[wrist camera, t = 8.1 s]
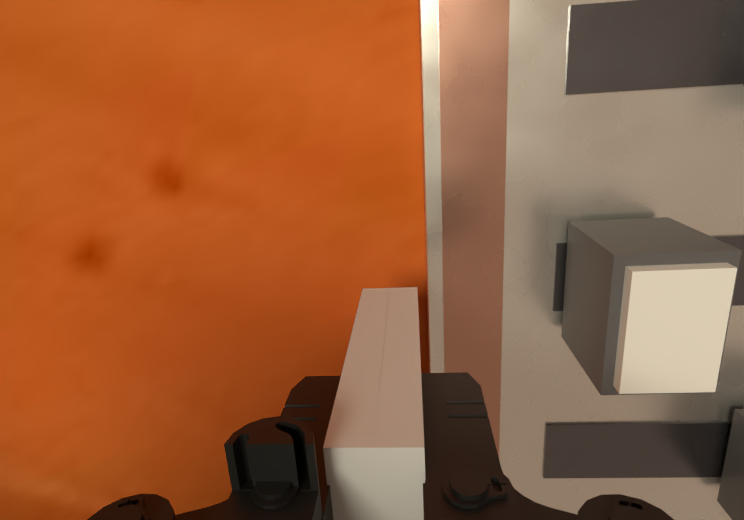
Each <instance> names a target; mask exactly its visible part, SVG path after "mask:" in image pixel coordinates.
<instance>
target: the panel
mask: <svg viewBox="0 0 744 520" xmlns="http://www.w3.org/2000/svg"><path fill="white" fill-rule="evenodd" d="M419 33H420V68H421V104H422V139H423V175H424V210H425V246H426V281H427V317H428V352H429V373H459V372H468V373H469V374H470V375H471V376H472V377H473V378H474V379H475V380H476V381H477V382H478V383H479V384H480V385H481V389H482V393H483V397H484V403H485V405H486V409H487V413H488V418H489V421H490V425H491V429H492V433H493V437H494V441H495V445H496V449H497V453H498V457H499V461H500V465H501V469H502V471H503V473H504V475H505V476H506V477H508V478H509V480H510V482H511V484H512V486H513V487H514V489H516V490H517V491H518V492H519V493H521V494H522V495H523V496H525V497H527V498H529V499H530V500H532V501H534V502H536V503H539V504H542V505H544V506H547V507H550V508H554V509H558V510H562V511H565V512H569V513H573V514H577V515H578V510H579V509H580V508H581V507H582V505H583V504H584V503H585V502H586V500H589V499H591V498H594V497H596V496H599V495H606V494H621V495H626V496H630V497H634V498H638V499H642V500H644V501H646V502H648V503H650V504H652V505H654V506H656V507H658V508H660V509H662V510H663V511H664V512H665V513H667V514H668V515H669V516H670V517H672V518H673V519H674V520H732V519H731V518H730V517H729V515H728V514H727V513H726V511H725V510H724V509H723V508H722V506H721V505H720V504H719V503H718V501H717V498H718V493H719V488H720V483H721V477H722V472H723V467H724V462H725V457H726V452H727V446H728V441H729V436H730V431H731V426H732V421H733V416H734V410H735V409H744V0H419ZM661 217H669V218H671V219H673V220H675V221H678V222H680V223H682V224H684V225H687V226H689V227H691V228H693V229H696V230H698V231H700V232H702V233H704V234H707V235H709V236H711V237H713V238H716V239H718V240H720V241H722V242H724V243H727V244H729V245H731V246H733V247H736V248H738V249H740V250H742V252H741V258H740V263H739V269H738V274H737V280H736V286H735V291H734V297H733V302H732V308H731V314H730V319H729V325H728V330H727V336H726V342H725V347H724V353H723V358H722V364H721V370H720V375H719V381H718V386H717V392H716V393H698V394H644V395H600V393H599V392H598V391H597V389H596V388H595V386H594V385H593V383H592V382H591V380H590V379H589V377H588V376H587V374H586V373H585V371H584V370H583V368H582V367H581V365H580V364H579V362H578V361H577V359H576V358H575V356H574V355H573V353H572V352H571V350H570V349H569V347H568V346H567V344H566V343H565V341H564V340H563V338H562V337H561V334H562V318H563V303H564V287H565V271H566V256H567V240H568V225H569V222H570V221H593V220H615V219H638V218H661Z"/></svg>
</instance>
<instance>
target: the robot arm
mask: <svg viewBox="0 0 744 520" xmlns="http://www.w3.org/2000/svg"><path fill="white" fill-rule="evenodd" d="M224 446H225V452H226V457H227V463H228V469H229V474H230V480H231V486H232V492H231V495H230V497H229V499H227V500H225V501H223V502H222V503H219V504H216V505H213V506H210V507H206V508H202V509H198V510H194V511H190V512H186V513H182V514H178V515H175V513H174V510H173V508H172V506H171V504H170V502H169V500H167V499H165V498H163V497H161V496H159V495H156V494H138V495H134V496H130V497H126V498H122V499H120V500H118V501H116V502H114V503H111V504H109V505H107V506H105V507H103V508H102V509H101V510H99V511H98V512H97V513H95V514H94V515H93V516H91V517H90V518H89V519H87V520H674V519H673V518H672V517H670V516H669V515H668V514H667V513H665V512H664V511H663V510H662V509H660V508H658V507H656V506H654V505H652V504H650V503H648V502H646V501H644V500H642V499H638V498H634V497H630V496H626V495H621V494H606V495H599V496H596V497H594V498H591V499H589V500H586V502H585V503H584V504H583V505H582V507H581V508H580V509H579V510H578V515H577V514H573V513H569V512H565V511H562V510H558V509H554V508H550V507H547V506H544V505H542V504H539V503H536V502H534V501H532V500H530V499H529V498H527V497H525V496H523V495H522V494H521V493H519V492H518V491H517V490H516V489H514V487H513V486H512V484H511V482H510V480H509V478H508V477H506V476H505V475H504V473H503V471H502V469H501V465H500V461H499V457H498V453H497V449H496V445H495V441H494V437H493V433H492V429H491V425H490V421H489V418H488V413H487V409H486V405H485V403H484V397H483V393H482V389H481V385H480V384H479V383H478V382H477V381H476V380H475V379H474V378H473V377H472V376H471V375H470V374H469V373H468V372H459V373H421V358H420V336H419V313H418V290H417V287H404V288H371V289H362V293H361V297H360V301H359V305H358V310H357V314H356V318H355V322H354V326H353V330H352V334H351V338H350V342H349V346H348V350H347V354H346V358H345V362H344V366H343V370H342V374H341V376H308V377H305V378H304V379H303V380H301V381H300V382H299V383H298V384H297V385H296V386H295V387H294V388H293V389H291V392H290V394H289V396H288V399H287V401H286V404H285V408H284V409H283V411H282V413H281V416H280V417H272V418H264V419H261V420H258V421H255V422H252V423H249V424H247V425H245V426H244V427H242V428H241V429H239V430H238V431H236V432H235V433H233V434H232V435H231V437H230V438H229V439H228V440H227V442H226V443H225V444H224Z"/></svg>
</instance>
